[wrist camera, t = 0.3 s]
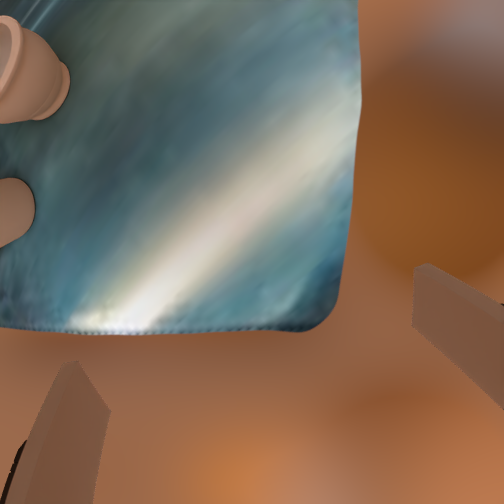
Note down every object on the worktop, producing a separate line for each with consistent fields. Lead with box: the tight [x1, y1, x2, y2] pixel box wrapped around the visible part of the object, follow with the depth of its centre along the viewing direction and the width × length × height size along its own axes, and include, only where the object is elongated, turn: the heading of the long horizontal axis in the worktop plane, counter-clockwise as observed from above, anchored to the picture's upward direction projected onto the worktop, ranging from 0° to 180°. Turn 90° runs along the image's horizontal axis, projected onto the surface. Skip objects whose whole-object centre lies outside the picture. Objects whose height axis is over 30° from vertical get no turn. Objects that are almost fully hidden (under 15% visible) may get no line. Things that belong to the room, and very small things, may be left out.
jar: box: [0, 16, 70, 124], centre depth 20 cm, size 11×10×15 cm
